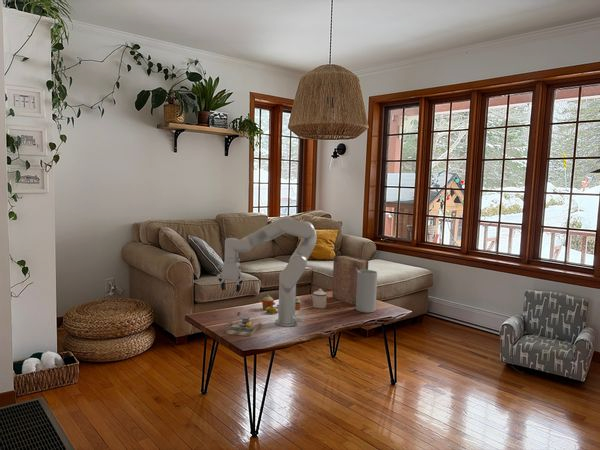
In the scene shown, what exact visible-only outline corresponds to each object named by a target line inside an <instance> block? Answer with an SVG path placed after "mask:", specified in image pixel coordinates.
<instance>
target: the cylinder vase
mask: <svg viewBox="0 0 600 450" xmlns="http://www.w3.org/2000/svg"><path fill="white" fill-rule="evenodd" d="M377 285H378V271H376V270H373V269H372V270H370V269H368V270H358V271H357V293H356V306H355V310H356V311H357V312H358V313H359V312H360V313H366V314H368V313H374V312H375V311H376V308H377V307H376V305H377V304H376V303H377V289H378V288H377V287H378V286H377Z"/></svg>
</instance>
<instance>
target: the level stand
mask: <svg viewBox="0 0 600 450" xmlns="http://www.w3.org/2000/svg"><path fill="white" fill-rule="evenodd" d="M240 322H242V320H237V321H236V322H235V323H233V324H232V325H231V326H230V327H228V328H227V329H226V330H225V334H228V335H229V334H230V335H235V334H236V335H237V336H238V335H239V336H244V337H245V336H246V337H247V336H248V337H252V336H253V335H254V334H255V333H256V332H257V331H258V330H259V329H260V328H261V327H262V326H263V325H262V323H261V322H251V321H250V322H251V323H252V326H251V327H250V328H248V327H247V326H241V325H239V323H240Z"/></svg>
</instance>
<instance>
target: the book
mask: <svg viewBox="0 0 600 450" xmlns="http://www.w3.org/2000/svg"><path fill="white" fill-rule="evenodd" d="M332 265H333V268H332V271H333V272H332V299H335V300H338V301H340V302H343V303H345V304H349V305H351V306H353V307H356V293H357V271H358V270H369V260H368V259H363V258H359V257H354V256H350V255H345V254H342V255H340V254H339V255H333V264H332Z"/></svg>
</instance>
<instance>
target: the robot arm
mask: <svg viewBox="0 0 600 450" xmlns="http://www.w3.org/2000/svg"><path fill="white" fill-rule="evenodd" d="M284 234H287V235H291V236H294V237H297V238H298V237H299V238H301V239H300V241H299V244H298V245H297V247H296V248H295V250H294V252H293V253H292V255H291V256H290V258H289V260H288V261H289V262H288V263H287V265H286V266H285V268H283V269H282V270H281V271H280V273H279V277H278V280H279V281H278V283H279V284H278V285H279V286H278V287H279V288H278V305H279V308H278V310H277V311H278V313H277V314H278V318H277V319H276V320H275V324H276V325H277V326H280V327H295V326H297V325H298V323H303V318H302V317H297V314H296V310H295V303H296V298H297V283H298V281H299V280H300V278H301V276H302V275H303V273H304V272H305V271H306V268H307V266H308V260H309V258H310V256H311V254H312V252H313V251H314V250H315V249H314V248H315V247H316V245H317V231H316V229H315V226H314V225H313V223H311V222H310V221H308V220H307V221H306V220H305V221H302V220H297V219H294V218H292V217H290V216H288V215H285V216H282V217H280V218H278V219H277V220H274V221H273V222H271V223H268V224H267V225H265V226H263V227H261V228H260V229H257V230H256V231H254V232H252V233H250V234H247V235H246V236H243V238H241V239H238V238H236V237H227V238H225V240H224V261H223V263H222V268H221V273H219V274H217V275H216V278H217V279H218V281H219V282H220V285H221V287H220V288H221V291H223V292H224V291H225V290H226V281H232V282H233V281H234V282H235V283H236V286H235V287H236V290H235V292H237V293H239V292H240V290H241V284H242V283H243V282H244V281H245V280H246V277H245V275H243V274H242V272H241V271H242V269H241V264H240V261H241V258H239V253H248V252H250V251H251V249H253V248H254V247H256V246H259V245H260V244H262V243H264V242H269V241H270V242H271V241H272V240H274V239H276V238H278V237H280V236H282V235H284Z"/></svg>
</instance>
